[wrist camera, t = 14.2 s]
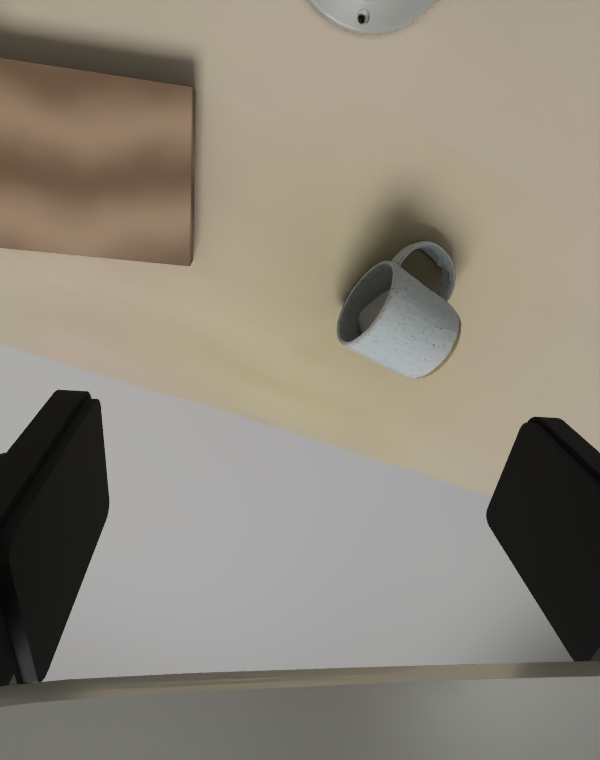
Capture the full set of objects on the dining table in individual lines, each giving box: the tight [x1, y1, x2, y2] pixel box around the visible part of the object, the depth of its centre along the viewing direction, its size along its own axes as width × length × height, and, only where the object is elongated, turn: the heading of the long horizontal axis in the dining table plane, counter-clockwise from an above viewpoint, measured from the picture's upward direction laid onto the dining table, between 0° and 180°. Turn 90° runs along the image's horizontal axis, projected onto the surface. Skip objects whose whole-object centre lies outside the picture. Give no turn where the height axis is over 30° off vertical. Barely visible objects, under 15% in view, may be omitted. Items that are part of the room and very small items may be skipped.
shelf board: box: [0, 58, 195, 266], centre depth 31 cm, size 12×24×4 cm, turn 83°
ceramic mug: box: [337, 241, 461, 378], centre depth 37 cm, size 11×8×8 cm
